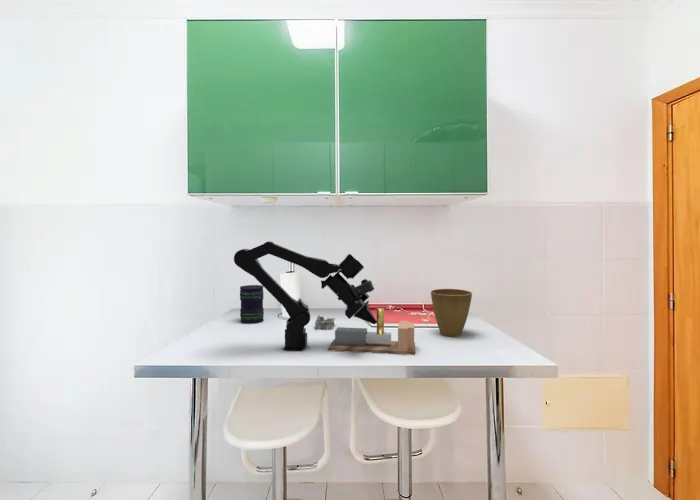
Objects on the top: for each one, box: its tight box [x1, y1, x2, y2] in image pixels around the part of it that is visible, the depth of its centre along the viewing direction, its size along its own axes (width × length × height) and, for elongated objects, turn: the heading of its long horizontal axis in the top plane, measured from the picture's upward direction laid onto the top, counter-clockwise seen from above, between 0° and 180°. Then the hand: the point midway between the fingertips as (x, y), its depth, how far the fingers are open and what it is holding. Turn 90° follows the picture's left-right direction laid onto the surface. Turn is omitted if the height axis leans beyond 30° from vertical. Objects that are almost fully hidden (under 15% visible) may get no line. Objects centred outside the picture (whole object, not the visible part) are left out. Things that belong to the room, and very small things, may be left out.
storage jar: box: [239, 284, 265, 325], centre depth 171 cm, size 10×10×15 cm
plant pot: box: [430, 288, 473, 337], centre depth 149 cm, size 15×15×16 cm
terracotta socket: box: [397, 320, 415, 351], centre depth 130 cm, size 5×10×7 cm, turn 171°
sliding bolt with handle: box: [366, 307, 392, 344], centre depth 131 cm, size 14×3×11 cm, turn 81°
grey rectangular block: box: [334, 326, 368, 347], centre depth 133 cm, size 10×5×5 cm, turn 81°
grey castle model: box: [314, 314, 336, 331], centre depth 161 cm, size 11×8×4 cm
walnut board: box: [327, 338, 416, 356], centre depth 132 cm, size 28×11×1 cm, turn 81°
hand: (375, 323), depth 131 cm, fingers closed
